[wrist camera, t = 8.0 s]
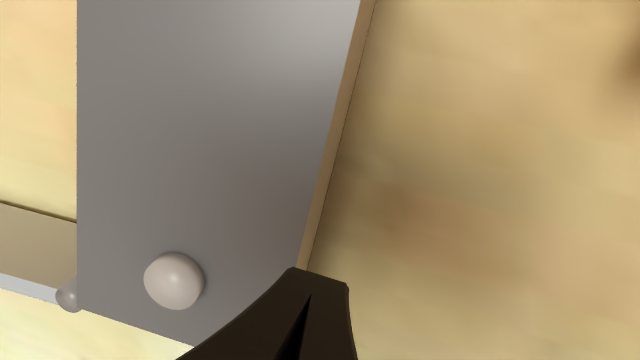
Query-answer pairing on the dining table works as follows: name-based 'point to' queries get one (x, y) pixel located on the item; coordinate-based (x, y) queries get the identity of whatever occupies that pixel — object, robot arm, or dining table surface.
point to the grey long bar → (38, 256)
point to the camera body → (205, 150)
